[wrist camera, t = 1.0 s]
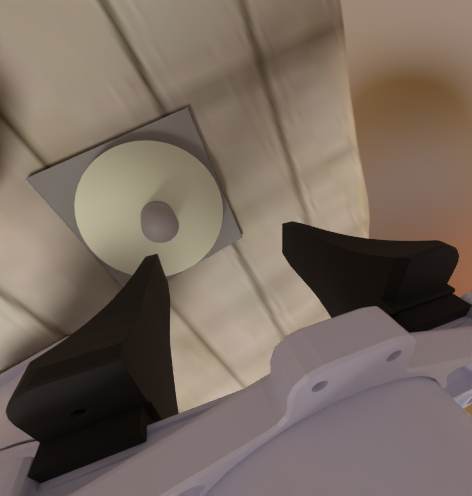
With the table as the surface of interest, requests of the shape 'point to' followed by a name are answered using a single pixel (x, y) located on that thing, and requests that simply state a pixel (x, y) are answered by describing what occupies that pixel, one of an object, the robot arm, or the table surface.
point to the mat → (164, 130)
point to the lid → (148, 207)
